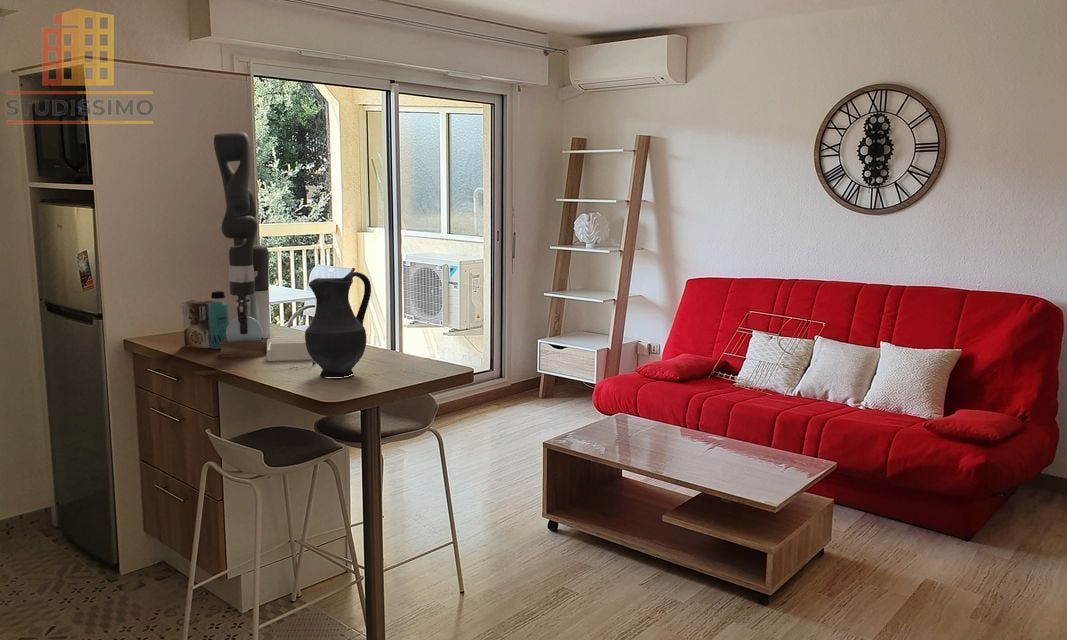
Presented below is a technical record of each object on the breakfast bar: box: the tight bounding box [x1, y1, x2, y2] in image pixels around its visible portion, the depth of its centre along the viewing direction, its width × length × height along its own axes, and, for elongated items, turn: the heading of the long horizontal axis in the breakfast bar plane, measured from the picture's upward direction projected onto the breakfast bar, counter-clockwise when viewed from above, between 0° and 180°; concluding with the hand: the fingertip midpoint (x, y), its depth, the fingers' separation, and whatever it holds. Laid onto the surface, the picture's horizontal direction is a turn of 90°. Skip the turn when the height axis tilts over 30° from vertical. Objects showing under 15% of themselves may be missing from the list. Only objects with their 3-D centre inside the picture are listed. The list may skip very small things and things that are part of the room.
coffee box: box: [181, 299, 215, 349], centre depth 278 cm, size 9×6×16 cm
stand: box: [220, 338, 268, 358], centre depth 266 cm, size 6×14×6 cm, turn 104°
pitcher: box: [304, 271, 372, 378], centre depth 244 cm, size 17×21×30 cm
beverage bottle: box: [208, 290, 230, 350], centre depth 275 cm, size 6×7×20 cm
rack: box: [266, 335, 317, 364], centre depth 265 cm, size 13×15×6 cm
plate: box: [226, 316, 263, 342], centre depth 266 cm, size 2×11×11 cm, turn 104°
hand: (244, 333), depth 266 cm, fingers closed on plate, 1 cm apart
